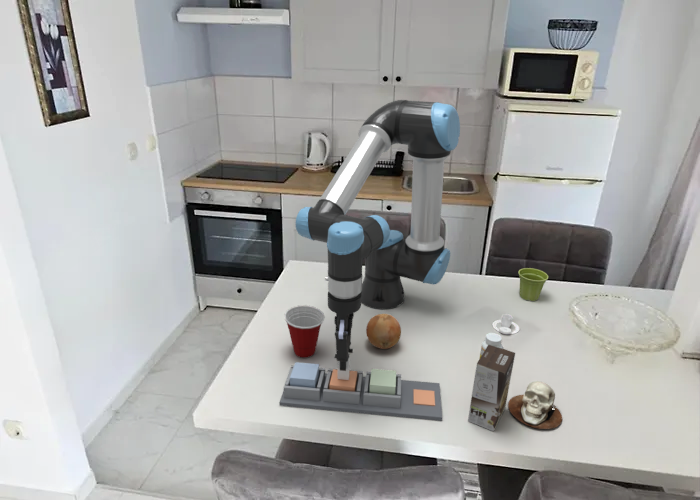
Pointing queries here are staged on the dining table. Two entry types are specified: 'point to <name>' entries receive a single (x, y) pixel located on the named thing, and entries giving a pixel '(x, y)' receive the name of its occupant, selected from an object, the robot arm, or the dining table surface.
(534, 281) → the plant pot
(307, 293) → the dining table surface
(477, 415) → the coffee box
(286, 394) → the console
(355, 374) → the button terracotta
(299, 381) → the button slate
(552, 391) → the skull
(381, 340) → the onion
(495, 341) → the supplement bottle
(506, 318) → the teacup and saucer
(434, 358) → the dining table surface
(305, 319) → the plastic cup
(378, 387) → the button sage
